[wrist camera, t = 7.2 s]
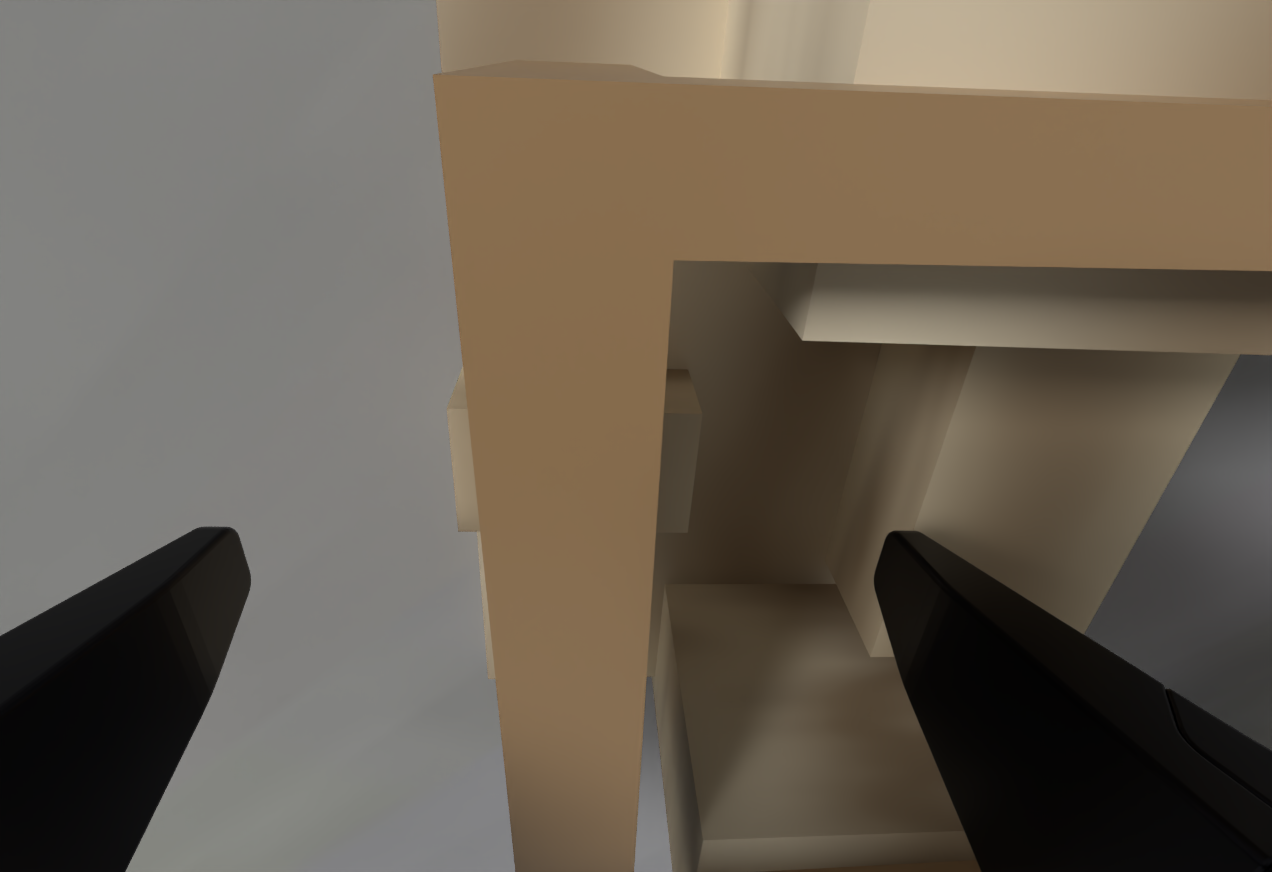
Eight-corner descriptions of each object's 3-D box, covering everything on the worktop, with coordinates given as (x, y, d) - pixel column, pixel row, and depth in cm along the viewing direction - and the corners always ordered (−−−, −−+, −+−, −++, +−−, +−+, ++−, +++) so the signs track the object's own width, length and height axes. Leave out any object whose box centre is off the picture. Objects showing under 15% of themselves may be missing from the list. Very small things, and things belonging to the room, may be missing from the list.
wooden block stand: (1289, -5, 10) (2065, -62, 5) (981, 660, 18) (1155, 927, 12) (440, -76, 9) (236, -251, 4) (493, 666, 17) (449, 962, 11)
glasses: (1311, 91, 9) (2018, 135, 4) (1015, 696, 15) (1193, 964, 10) (508, 59, 8) (418, 74, 4) (543, 713, 14) (524, 1009, 10)
